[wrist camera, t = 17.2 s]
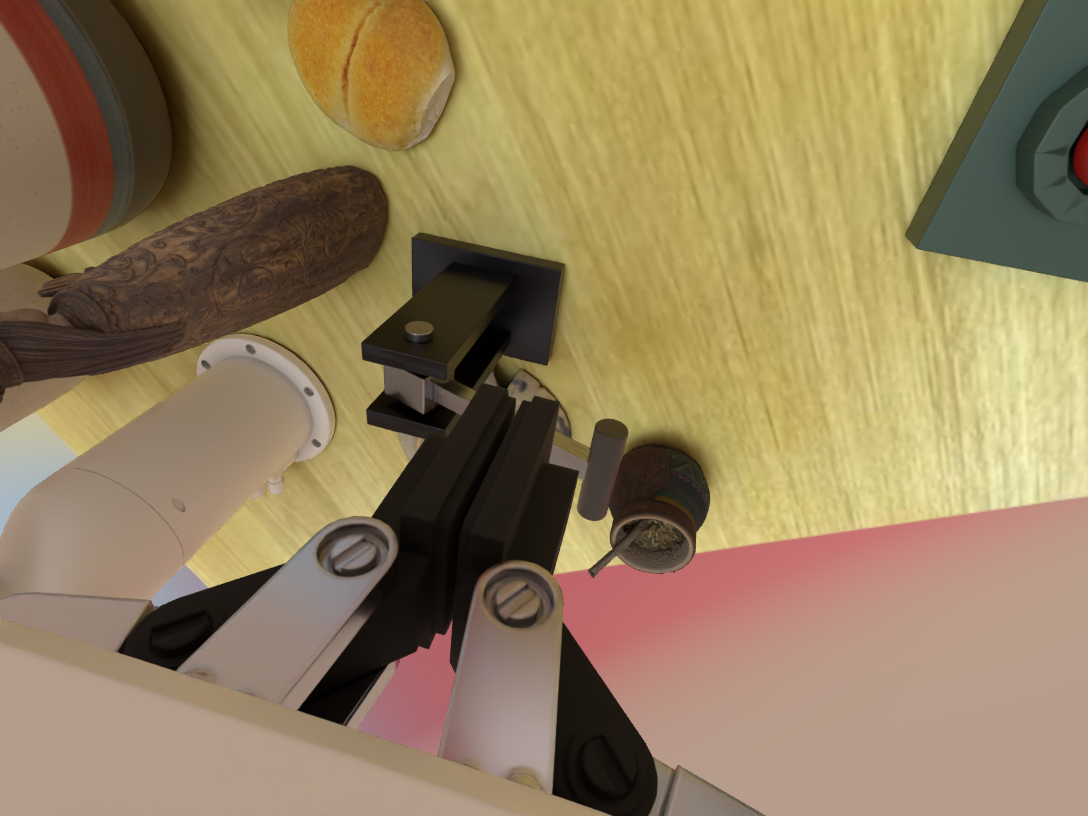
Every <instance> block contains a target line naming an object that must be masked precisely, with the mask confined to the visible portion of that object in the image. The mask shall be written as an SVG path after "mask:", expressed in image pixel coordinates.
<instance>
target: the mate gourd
mask: <svg viewBox="0 0 1088 816" xmlns="http://www.w3.org/2000/svg"><path fill="white" fill-rule="evenodd" d="M709 504H710V492H709V488H708V484H707V481H706V478H705V476H704V473H703V471H702V469H701V467H700V465H699V464H698V462H697V461H696V460H695V459H694V458H692V457H691V456H690V455H688V454H687V453H685V452H684V451H682V450H680V449H677V448H675V447H671V446H667V445H659V444H647V445H642V446H639V447H636V448H634V449H632V450H630V451H629V452H628V453H627V454H626V455H624V457H623V459H622V460H621V463H620V466H619V470H618V474H617V477H616V481H615V485H614V488H613V492H612V496H611V499H610V503H609V509H610V511H611V514H612V516H613V519H614V520H613V523H612V528H611V532H610V543H611V546H612V548H613V549H612V550H611V551H609V552H608V553H607V554H606V555H605V556H604V557H603V558H602V559H601V560H599V561H598V562H597V563H596V564H595V565H594V566H593V567H591V568H590V569H588V572H589V573H590V575H591V576H592V577H593V578H594V576H595V575H596V574H597V573H598V572H599V571H600V570H601V569H603V567H605V566H606V565H607V564H608V563H609V562H610V561H611V560H612V559H613V558H614V557H615V556H618V557H619V558H620V559H621V560H622V561H623V562H624V563H626V564H627V565H629V566H630V567H633V568H634V569H637V570H639V571H643V572H648V573H656V574H663V573H667V572H674V573H675V571H677V570H680V569H682V568H683V567H684V566H686V565H687V564H688V563H689V562H690V561H691V560H692V558H693V556H694V554H695V552H696V550H695V549H696V532H697V531H698V530H699V528H700V527H701V526H702V524H703V523H704V521H705V519H706V516H707V513H708V510H709Z"/></svg>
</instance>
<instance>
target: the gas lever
mask: <svg viewBox="0 0 1088 816" xmlns="http://www.w3.org/2000/svg"><path fill="white" fill-rule="evenodd" d="M454 371H455V370H454ZM454 371H453V372H452V373H451V375H450V376H449V377H448V379H447V380H441V379H437V378H433V377H429V376H425V375H421V374H417V373H413V372H409V371H405V370H401V369H397V368H393V367H389V366H385V365H384V384H385V394H387V395H388V396H390V397H392V398H394V399H396V400H398V401H399V402H401V403H403V404H405V405H407V406H409V407H410V408H412V409H414V410H416V411H418V412H419V413H421V414H426V413H427V412H429V411H430V410H432V409H433V408H435V407H436V406H438V405H442V406H444V407H446V408H448V409H450V410H452V411H453V412H455V413H457V414H459V415H462V414H463V412H464V411H465V409H466V407H467V406H468V404H469V403H470V401H471V399H472V398H473V396H474V395H475V393H476V392H477V391H475V390H473V389H471V388H469V387H467V386H465V385H463V384H461V383H459V382H457V381H455V380H454ZM516 413H517V411H515V415H516ZM514 417H515V416H514ZM627 437H628V429H627V427H626V426H625V425H624V424H623V423H622V422H620V421H617V420H614V419H602V420H600V421H598V422H597V423H596V425H595V429H594V434H593V438H592V442H591V447H590V448H589V447H587V446H585V445H583V444H581V443H579V442H577V441H575V440H573V439H571V438H569V437H567V436H565V435H563V434H561V433H559V432H557V431H555V434H554V439H553V445H552V450H551V455H550V461H549V462H550V463H552V464H555V465H559V466H563V467H567V468H570V469H574V470H578V471H579V475H578V478H580V479H582V480H583V482H582V487H581V491H580V495H579V500H578V504H577V510H578V512H579V514H580V515H581V516H582V517H583V518H585V519H587V520H591V521H598V520H601V519H603V518H604V517H605V516H606V514H607V510H608V507H609V503H610V499H611V496H612V492H613V488H614V485H615V481H616V477H617V474H618V470H619V466H620V463H621V459H622V455H623V452H624V448H625V444H626V441H627Z"/></svg>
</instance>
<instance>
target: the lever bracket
mask: <svg viewBox="0 0 1088 816" xmlns="http://www.w3.org/2000/svg"><path fill="white" fill-rule="evenodd" d="M564 270H565V264H562V263H557V262H552V261H548V260H543V259H538V258H534V257H529V256H524V255H520V254H515V253H511V252H506V251H501V250H497V249H492V248H487V247H483V246H478V245H474V244H469V243H464V242H460V241H455V240H450V239H446V238H441V237H437V236H432V235H427V234H423V233H418V234H417V235H415V236H414V237H412V298H411V299H410V300H409V301H408V302H407V303H406V304H404V305H403V306H402V307H401V308H400V309H399V310H398V311H397V312H395V313H394V314H393V315H392V316H391V317H390V318H389V319H388V320H386V321H385V322H384V323H383V324H382V325H381V326H380V327H379V328H377V329H376V330H375V331H374V332H373V333H372V334H371V335H370V336H368V337H367V338H366V339H365V340H364V341H363V342H362V343H361V346H362V359H363V360H365V361H369V362H373V363H377V364H381V365H385V366H389V367H393V368H397V369H401V370H405V371H409V372H413V373H417V374H421V375H425V376H429V377H433V378H437V379H441V380H447V379H448V377H449V376H450V375H451V373H452V372H453V371H454V370H455V371H454V380H455V381H457V382H459V383H461V384H463V385H465V386H467V387H469V388H471V389H473V390H475V391H477V390H478V388H479V387H480V385H481V384H482V383H485V381H486V380H487V378H488V377H489V375H490V373H491V372H492V370H493V369H494V367H495V366H496V364H497V363H498V361H499V360H500V358H501V357H502V355H505V356H509V357H513V358H517V359H521V360H525V361H530V362H534V363H538V364H542V365H546V366H547V365H548V363H549V361H550V359H551V355H552V348H553V342H554V335H555V329H556V322H557V316H558V309H559V303H560V296H561V289H562V283H563V276H564ZM366 412H367V424H369V425H373V426H377V427H381V428H384V429H388V430H392V431H396V432H399V433H403V434H407V435H411V436H414V437H418V438H422V439H425V438H426V437H427V436H428V435H429V434H431V433H435V434H439V435H443V436H447V437H448V436H449V434H450V433H451V431H452V430H453V428H454V426H455V425H456V423H457V422H458V420H459V418H460V417H461V415H459V414H457V413H455V412H453V411H452V410H450V409H448V408H446V407H444V406H442V405H438V406H436V407H435V408H433V409H432V410H430V411H429V412H427V413H426V414H421V413H419V412H418V411H416V410H414V409H412V408H410V407H409V406H407V405H405V404H403V403H401V402H399V401H398V400H396V399H394V398H392V397H390V396H388V395H387V394H385V390H384V391H383V392H382V393H381V394H380V395H379V396H378V397H377V398H376V399H375V401H374V402H373V403H372V404H371V405H370V406H369V407H368V408H367V410H366Z"/></svg>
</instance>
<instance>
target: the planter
mask: <svg viewBox="0 0 1088 816" xmlns="http://www.w3.org/2000/svg"><path fill="white" fill-rule="evenodd" d="M52 279H53V278H52V277H50V276H49V275H47V274H45V273H44V272H42V271H40V270H38V269H36V268H33V267H31V266H29V265H26V264H23V263H19V264H16V265H13V266H11V267H8V268H5V269H2V270H0V312H8V311H12V310H16V309H26V308H30V309H37V310H40V311H42V312H44V313H45V314H47V309H48V307H49V303H50V301H51V299H52V298H53V297H44V298H43V297H39V295H38V294H37V291H38V290H40V289H41V288H42V287H43V286H42V285H43V284H44V283H45V282H47V281H50V280H52ZM47 315H48V314H47ZM86 376H87V375H84V376H76V377H66V378H52V379H47V380H42V381H35V382H26V383H22V384H21V385H20V386H14V387H11V388H6V389H5V393H4V395H3V400H2V402H1V403H0V432H1V431H3V430H5V429H6V428H8V427H9V426H11V425H13V424H15V423H16V422H18V421H20V420H22V419H23V418H25V417H27V416H29V415H30V414H32V413H34V412H36V411H37V410H39V409H41V408H43V407H44V406H46V405H48V404H49V403H51V402H52V401H54V400H56V399H57V398H59V397H61V396H62V395H64V394H65V393H67V392H68V391H70V390H71V389H72V388H74V387H75V386H76V385H77V384H79V383H80V382H81V381H82V380H83V379H84V378H85V377H86Z"/></svg>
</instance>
